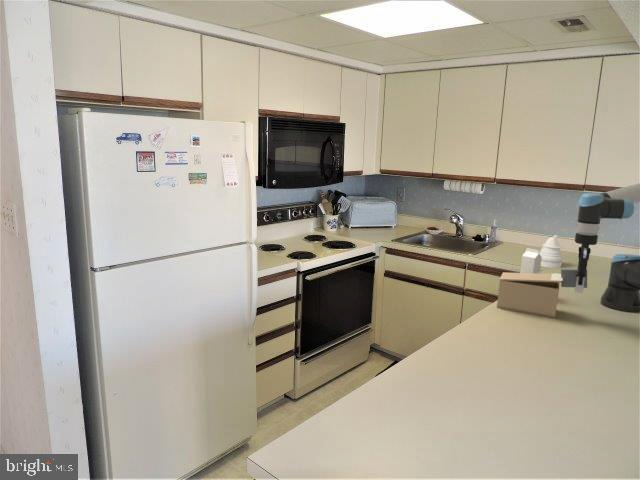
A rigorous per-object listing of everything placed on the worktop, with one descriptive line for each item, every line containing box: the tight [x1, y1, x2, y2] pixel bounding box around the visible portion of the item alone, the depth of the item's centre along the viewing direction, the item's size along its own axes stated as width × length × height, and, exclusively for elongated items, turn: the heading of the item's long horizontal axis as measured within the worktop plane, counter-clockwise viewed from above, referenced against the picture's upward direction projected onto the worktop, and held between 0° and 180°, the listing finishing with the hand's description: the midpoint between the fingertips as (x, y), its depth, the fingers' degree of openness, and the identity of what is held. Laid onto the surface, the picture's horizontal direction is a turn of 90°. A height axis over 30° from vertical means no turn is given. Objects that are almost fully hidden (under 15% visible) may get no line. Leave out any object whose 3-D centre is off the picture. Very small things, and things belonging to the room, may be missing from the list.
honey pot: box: [539, 234, 563, 269], centre depth 262 cm, size 13×13×18 cm
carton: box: [496, 279, 560, 319], centre depth 189 cm, size 22×11×12 cm, turn 62°
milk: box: [519, 247, 542, 274], centre depth 205 cm, size 6×6×22 cm
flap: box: [499, 268, 588, 289], centre depth 185 cm, size 32×12×7 cm, turn 62°
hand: (578, 291), depth 179 cm, fingers closed on flap, 2 cm apart
